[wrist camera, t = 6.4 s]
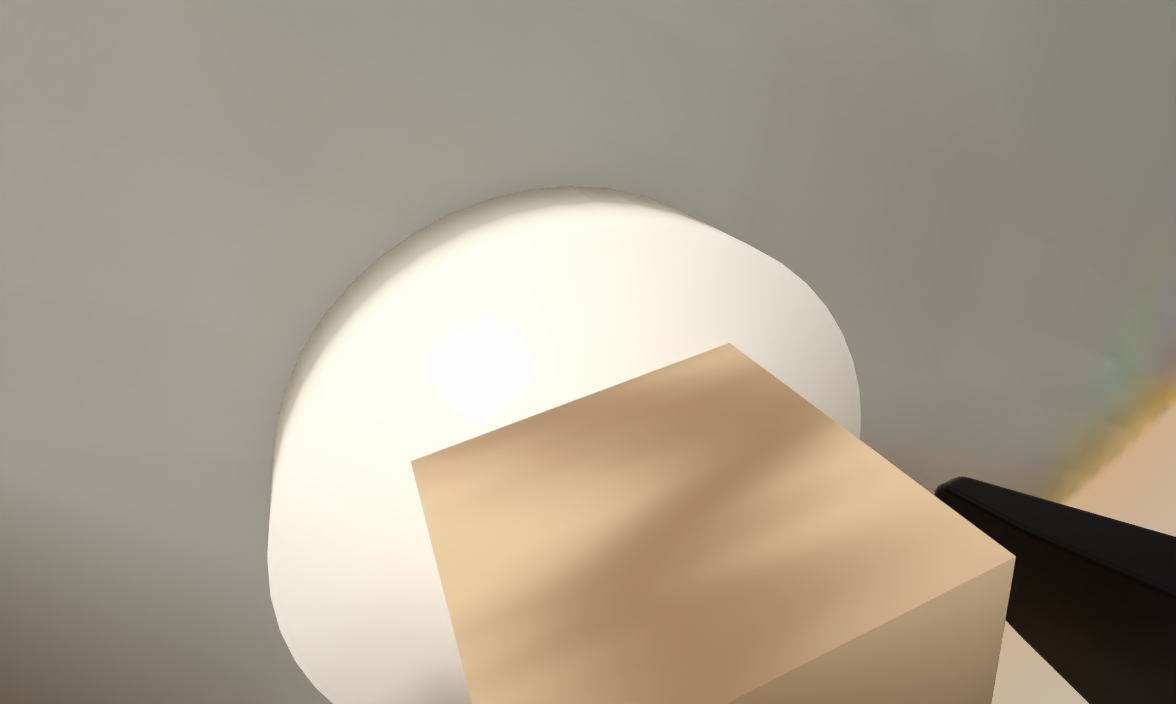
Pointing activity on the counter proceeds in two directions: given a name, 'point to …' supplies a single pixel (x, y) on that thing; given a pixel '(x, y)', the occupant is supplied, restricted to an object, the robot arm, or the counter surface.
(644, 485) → the beech cube
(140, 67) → the counter surface
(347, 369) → the ceramic stand
